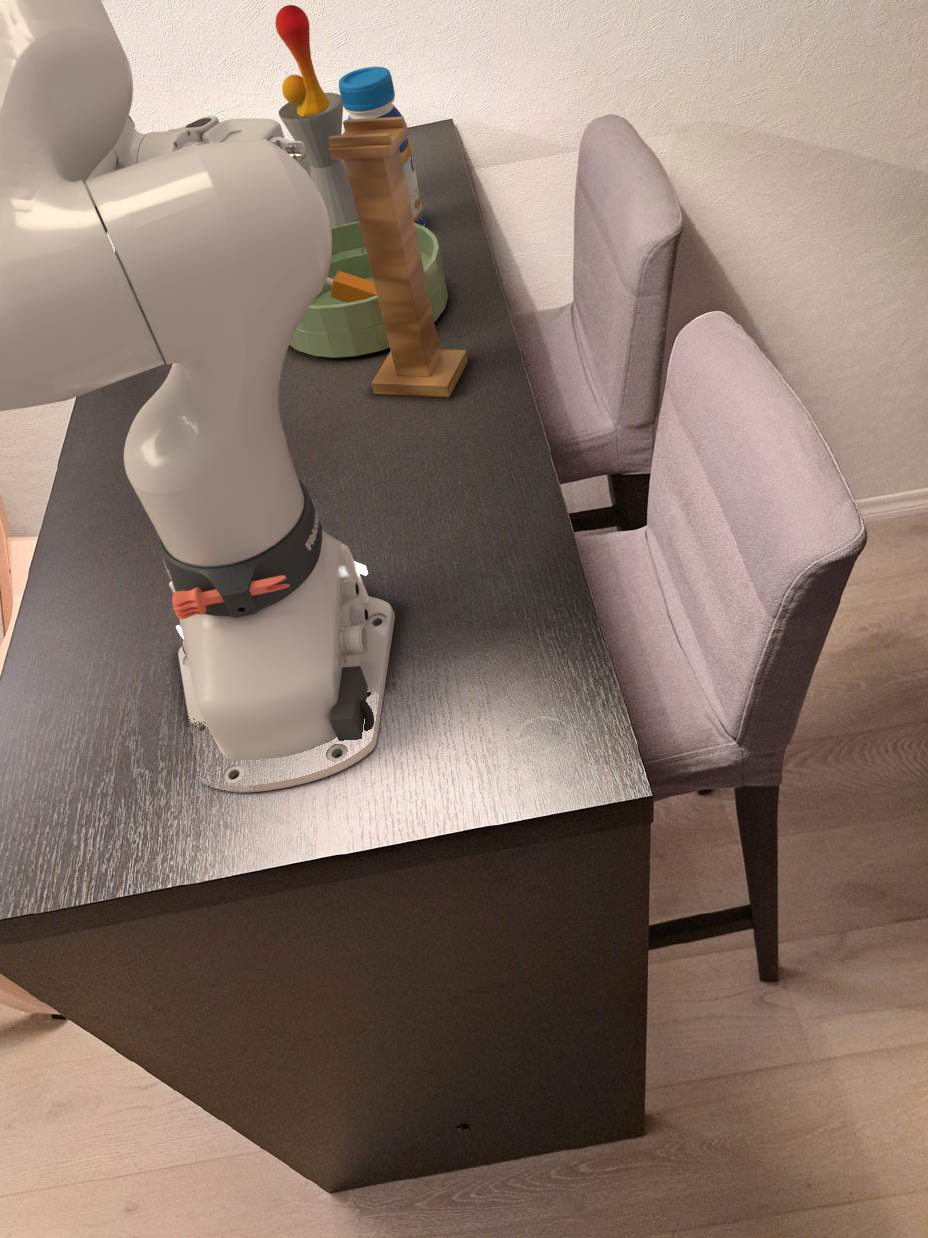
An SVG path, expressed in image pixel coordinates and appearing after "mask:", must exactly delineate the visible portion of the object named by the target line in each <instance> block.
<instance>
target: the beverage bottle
mask: <svg viewBox="0 0 928 1238" xmlns="http://www.w3.org/2000/svg"><path fill="white" fill-rule="evenodd" d="M338 90H339V95H341V99H342V103H343V109H344V110H345V111H346V112H347V113H349V114H348V117H347V120H350V119H368V118H386V117H404V116H403V114H402V113H401V111H399V110H398V108H397V107H396V106H395V105H394V104H393V103H394V102H395V99H396V98H395V95H396V93H395V87H394V83H393V76H392V74H391V71H390V70H389V68H387V67H382V66H368V67H367V66H366V67H362V68H359V69H355V70H352V71H350V72H347V73H346V74H344V75H343V76H341V77H340V78H339V80H338ZM404 121H405V124H407V122H406V120H405V119H404ZM399 149H400V154H401V159H402V164H403V169H404V174H405V179H406V184H407V189H408V194H409V199H410V204H411V209H412V214H413V219H414V223H417V224H419V225H421V226H424V227H425V226H426V219H425V213H424V211H423V205H422V200H421V198H422V197H421V194H420V189H419V184H418V183H419V182H418V179H417V171H416V166H415V161H414V150H413V145H412V142H411V140H410V139H409V138H408V137H407V138H406V139H405V140H404V142H403V143H402V144H401V145H400V147H399Z"/></svg>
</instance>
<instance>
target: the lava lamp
mask: <svg viewBox="0 0 928 1238" xmlns="http://www.w3.org/2000/svg"><path fill="white" fill-rule="evenodd" d="M274 21H275V23H274V24H275V29H276V33H277V34H278V37H280V39H281V40H282V42H283V43H284V44H285V46H286V47H287V49H288V50H289V51H290V53H291V55H292V56H293V58H294V60H295V61H296V63H297V66H298V69H299V72H300V74H301V75H299V74H290V75H288V76H287V77H286V78H285V79H284V80H283V81H282V86H281V91H282V95H283V98H284V99H285V101H286V102H287V103H285V104H284V105H282V106H281V108H280V109H279V111H278V116H279V118H280V120H281V121H282V123H283V126H285V128H286V129H287V131H288V132H289V134H290V136H291V137H292V138H293V141H302V142H303V143H304V144H305V148H306V152H307V155H306V157H305V159H306V161H307V163H308V164H309V165H310V177H311V178H312V180H313V181H314V183H315V185H316V186H317V188H318V190H319V192H320V194H321V196H322V198H323V200H324V203H325V205H326V208H327V211H328V215H329V219H330V225H331V227H334V226H337V225H341V224H346V223H351V222H355V221H358V220H359V219H358V215H357V211H356V207H355V203H354V199H353V195H352V191H351V186H350V182H349V178H348V174H347V170H346V166H345V164H344V162H343V161H342V160H331V156H330V152H329V148H330V144H329V140H328V138H329V137H330V136H337V135H342V134H343V132H342V131H343V117H344V116H343V115H344V106H343V103H342V99H341V94H340V93H336V92H324V90H323V88H322V86H321V85H320V82H319V80H318V77H317V75H316V72H315V67H314V64H313V59H312V54H311V53H312V51H311V44H310V42H311V40H310V39H311V35H310V34H311V33H310V20H309V17H308V16H307V14H306V12H305V11H304V10H303V9H302V8H301V7H300V6H298V5H296V4H295V5H294V4H288V5H287V4H286V5H284V6H282V7H281V8H280V9H279V10H278V11H277V14H276V16H275V20H274Z"/></svg>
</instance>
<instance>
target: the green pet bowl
mask: <svg viewBox="0 0 928 1238" xmlns="http://www.w3.org/2000/svg"><path fill="white" fill-rule="evenodd" d="M414 224H415V229H416V234H417V239H418V244H419V249H420V254H421V259H422V264H423V269H424V274H425V279H426V284H427V289H428V294H429V299H430V304H431V309H432V314H433V319H434V323H435V322H436V321H437V320H438V319H439V317H440V316H441V315H442V313H443V312H444V311H445V309H446V306H447V302H448V298H449V294H448V288H447V283H446V277H445V271H444V266H443V260H442V255H441V250H440V245H439V241H438V237H437V236H436V235H435V234H434V233H433V231H431V230H430V229H429V228H427V227H425V226H421V225H419V224H417V223H414ZM331 231H332V258H331V263H330V268H329V272H328V276H327V277H329V278H332V279H334V278H335V276H336V274H337V273H338V271H342V272H345V273H348V274H351V275H354V276H357V277H360V278H363V279H366V280H369V281H372V282H374V281H373V277H372V273H371V268H370V264H369V260H368V256H367V252H366V248H365V244H364V240H363V236H362V232H361V227H360V223H359V220H356V221H354V222H351V223H346V224H341V225H337V226H334V227H331ZM331 292H332V287H329V286H326V285H324V286H323V288H322V291H321V292H320V294H319V295H318V296H317V297H316V298H315V300H314V301H313V302H312V304H311V305H310V306H309V308H308V309H307V311H306V312H305V314H304V315H303V317H302V319H301V321H300V323H299V324H298V326H297V328H296V330H295V332H294V335H293V337H292V339H291V341H290V344H289V346H290V347H292V348H293V349H294V350H296V351H298V352H300V353H304V354H308V355H310V356H314V357H320V358H321V357H322V358H333V359H336V358H337V359H338V358H349V357H359V356H364V355H368V354H372V353H377V352H381V351H384V350H386V349H390V346H389V342H388V338H387V334H386V330H385V326H384V322H383V318H382V314H381V309H380V305H379V301H378V297H377V295H376V296H373V297H371V298H368V299H364V300H359V301H354V302H350V303H347V302H344V301H341V300H338V299H335V298H332V297H331Z"/></svg>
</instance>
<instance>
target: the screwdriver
mask: <svg viewBox="0 0 928 1238" xmlns="http://www.w3.org/2000/svg"><path fill="white" fill-rule="evenodd" d="M324 285H326V286H329V287H332V292H331V297H332V298H335V299H338V300H341V301H344V302H347V303H350V302H354V301H359V300H364V299H368V298H371V297H373V296H376V295H377V293H376V289H375V285H374V282H372V281H369V280H366V279H363V278H360V277H357V276H354V275H351V274H348V273H345V272H342V271H338V273H337V274H336V276H335V278H334V279H332V278H329V277H327V279H326V282H325V284H324Z"/></svg>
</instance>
